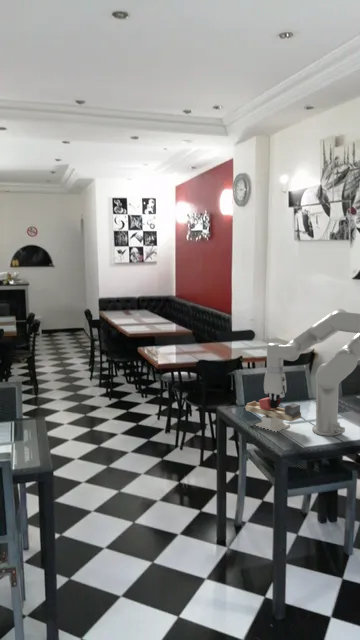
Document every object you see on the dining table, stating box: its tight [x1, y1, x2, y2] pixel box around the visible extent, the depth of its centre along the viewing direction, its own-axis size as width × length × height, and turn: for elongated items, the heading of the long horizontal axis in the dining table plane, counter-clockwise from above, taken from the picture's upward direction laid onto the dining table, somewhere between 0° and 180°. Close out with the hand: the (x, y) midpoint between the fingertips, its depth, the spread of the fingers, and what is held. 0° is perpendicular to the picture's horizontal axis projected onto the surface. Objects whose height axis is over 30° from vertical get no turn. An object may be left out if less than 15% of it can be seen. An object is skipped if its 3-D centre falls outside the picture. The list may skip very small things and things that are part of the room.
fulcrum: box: [254, 415, 291, 433], centre depth 242 cm, size 12×11×5 cm
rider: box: [258, 397, 273, 410], centre depth 244 cm, size 5×5×5 cm
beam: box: [245, 400, 302, 423], centre depth 241 cm, size 26×9×7 cm, turn 44°
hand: (274, 407), depth 240 cm, fingers closed
